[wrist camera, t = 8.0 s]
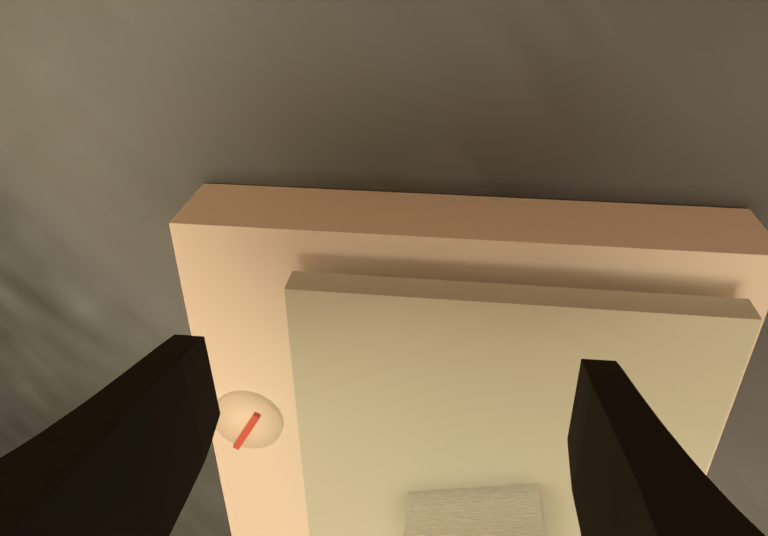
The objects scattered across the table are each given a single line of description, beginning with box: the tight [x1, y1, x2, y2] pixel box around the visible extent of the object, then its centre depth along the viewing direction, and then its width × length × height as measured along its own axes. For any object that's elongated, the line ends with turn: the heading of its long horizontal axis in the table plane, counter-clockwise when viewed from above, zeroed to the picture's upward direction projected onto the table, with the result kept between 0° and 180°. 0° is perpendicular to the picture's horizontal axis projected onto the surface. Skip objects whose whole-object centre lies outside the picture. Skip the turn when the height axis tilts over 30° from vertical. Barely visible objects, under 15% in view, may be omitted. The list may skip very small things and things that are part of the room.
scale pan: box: [284, 271, 762, 536], centre depth 22 cm, size 13×14×1 cm
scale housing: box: [169, 183, 768, 536], centre depth 24 cm, size 18×16×4 cm
